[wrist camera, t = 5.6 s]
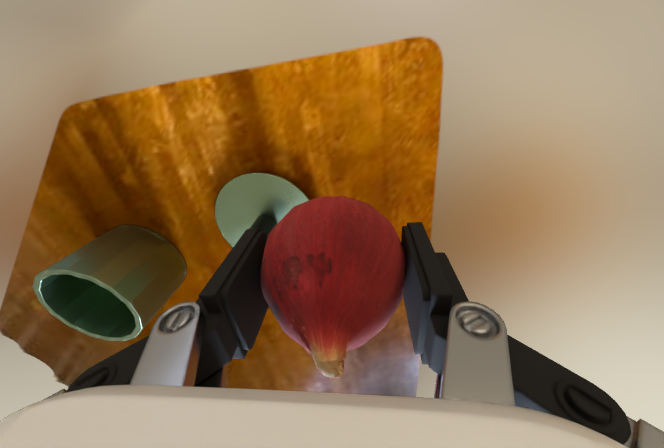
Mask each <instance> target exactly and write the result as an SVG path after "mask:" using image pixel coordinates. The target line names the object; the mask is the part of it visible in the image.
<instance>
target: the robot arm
mask: <svg viewBox="0 0 664 448" xmlns="http://www.w3.org/2000/svg"><path fill="white" fill-rule="evenodd" d="M266 241H267V237H266V234H265V232H262V231H261V229H246V230H245V232H244V233H243V235H242V236H241V237H240V239H239V240H238V242H237V243H236V244H235V246H234V247H233V249H232V250H231V251H230V253H229V254H228V256H227V257H226V258H225V260H224V261H223V262H222V264H221V265H220V267H219V268H218V269H217V271H216V272H215V274H214V275H213V276H212V278H211V279H210V281H209V282H208V283H207V285H206V286H205V287H204V289H203V290H202V292H201V293H200V294H199V298H198V300H197V301H196V303H195V302H189V301H188V302H182V303H179V304H177V305H174V306H173V307H171V308H169V309H168V310H166V311H165V312H164V313H162V314H161V316H160V317H159V318H158V319H157V320H156V322H155V324H154V326H153V328H152V331H151V333H150V335H149V336H147V337H145V338H143V339H142V340H140V341H138V342H136V343H134V344H132V345H131V346H129V347H127V348H125V349H123V350H121V351H120V352H118V353H116V354H114V355H112V356H110V357H109V358H107V359H105V360H103V361H101V362H99V363H98V364H96V365H94V366H93V367H91V368H89V369H88V370H86V371H85V372H84V373H83V374H81V375H80V376H79V377H78V378H77V379H76V380H75V381H74V382H73V383H72V384H71V385H70V387H69V388H68V390H67V391H66V390H65V389H62V390H60V391H59V392H57V393H55V394H53V395H52V396H49V397H48V398H46V399H44V400H42V401H39V402H37V403H34V404H32V405H29V406H27V407H25V408H23V409H20V410H18V411H16V412H14V413H12V414H10V415H9V416H7V417H5V418H4V419H2V420H1V421H0V448H664V432H663V431H661V430H659V429H658V428H656V427H654V426H652V425H651V424H649V423H647V422H646V421H644V420H642V419H640V420H638V421H637V422H636V421H634V420H632V419H631V418H629V417H627V416H626V414H625V413H624V411H623V410H622V409H621V408H620V406H619V405H618V404H617V403H616V402H615V400H613V399H612V398H611V397H610V396H609V395H608V394H607V393H606V392H604V391H603V390H601V389H600V388H598V387H597V386H596V385H594V384H593V383H591V382H589V381H587V380H586V379H584V378H582V377H580V376H579V375H577V374H575V373H573V372H571V371H570V370H568V369H566V368H564V367H563V366H561V365H560V364H557V363H556V362H554V361H553V360H551V359H549V358H547V357H545V356H544V355H542V354H540V353H538V352H537V351H535V350H533V349H532V348H530V347H528V346H526V345H524V344H523V343H521V342H519V341H517V340H516V339H514V338H512V337H511V336H509V335H507V329H506V326H505V323H504V321H503V320H502V318H501V317H500V316H499V315H498V314H497V313H496V312H495V311H493V310H492V309H490V308H489V307H487V306H485V305H482V304H479V303H476V302H469V301H468V299H467V297H466V295H465V292H464V290H463V289H462V286H461V284H460V282H459V280H458V278H457V276H456V274H455V272H454V270H453V268H452V266H451V264H450V262H449V260H448V258H447V256H446V255H445V253H435V252H434V249H433V247H432V245H431V242H430V240H429V238H428V236H427V233H426V231H425V229H424V226H423V224H422V222H414V223H407V226H403V227H402V239H401V244H402V246H403V248H404V252H405V258H406V273H405V286H404V292H403V298H404V303H405V308H406V313H407V318H408V323H409V328H410V332H411V337H412V342H413V347H414V352H415V354H420V355H421V360H422V364H428V365H429V367H430V368H431V369H432V370H433V371H434V372H436V373H437V379H436V387H435V394H434V398H420V397H402V396H382V395H363V394H344V393H324V392H303V391H282V390H260V389H238V388H227V382H228V370H229V362H230V361H231V360H232V358H241V359H245V356H246V354H247V351H248V350H250V349H252V347H253V345H254V342H255V340H256V337H257V335H258V332H259V329H260V327H261V324H262V322H263V319H264V316H265V314H266V311H267V309H268V304H267V302H266V300H265V298H264V295H263V292H262V288H261V285H260V270H261V265H262V259H263V254H264V249H265V245H266Z"/></svg>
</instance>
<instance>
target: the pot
mask: <svg viewBox="0 0 664 448" xmlns="http://www.w3.org/2000/svg"><path fill="white" fill-rule="evenodd" d="M186 275H187V267H186V263H185V260H184V258H183V256H182V255H181V253H180V252H179V251H178V249H177V248H176V247H175V246H174V245H173V244H172V243H171V242H170V241H168V240H167V239H166V238H164V237H163V236H161V235H160V234H158V233H156V232H154V231H152V230H150V229H147V228H144V227H141V226H136V225H121V226H117V227H115V228H113V229H111V230H109V231H108V232H106V233H104V234H103V235H101V236H99V237H98V238H96V239H95V240H93V241H91V242H90V243H88V244H86V245H85V246H83V247H81V248H80V249H78V250H77V251H75V252H73V253H72V254H70V255H68V256H67V257H65V258H63V259H62V260H60V261H59V262H57V263H55V264H54V265H52V266H50V267H49V268H47V269H46V270H44V271H42V272H41V273H39V274H37V275H36V276H35V279H34V284H33V289H34V291H35V294H36V296H37V298H38V300H39V302H40V303H41V304H42V305H43V306H44V307H45V308H46V309H47V310H48V311H49V312H50V313H51V314H52V315H53V316H55V317H56V318H58V319H59V320H61V321H62V322H64V323H65V324H67V325H68V326H70V327H72V328H74V329H76V330H78V331H80V332H82V333H85V334H87V335H89V336H93V337H97V338H100V339H104V340H108V341H126V340H129V339H132V338H135V337H137V335H138V334H139V333H140V332H141V331H142V330H143V329H144V327H145V326H146V325H147V324H148V323H149V322H150V320H151V319H152V318H153V317H154V316H155V315H156V313H157V312H158V311H159V310H160V309H161V308H162V306H163V305H164V304H165V303H166V302H167V301H168V299H169V298H170V297H171V296H172V295H173V294H174V292H175V291H176V290H177V289H178V288H179V287H180V285H181V284H182V282H183V281H184V280H185V278H186Z"/></svg>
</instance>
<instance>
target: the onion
mask: <svg viewBox="0 0 664 448" xmlns="http://www.w3.org/2000/svg"><path fill="white" fill-rule="evenodd" d="M405 273H406V258H405V252H404V248H403V246H402V244H401V242H400V240H399V237H398V235H397V233H396V231H395V229H394V227H393V226H392V224H391V223H390V222H389V220H388V219H387V218H385V217H384V216H383V215H382V214H380V213H379V212H378V211H377V210H375V209H374V208H373V207H372V206H371V205H369V204H367V203H364V202H361V201H358V200H354V199H351V198H348V197H345V196H337V197H317V198H314V199H312V200H309V201H307V202H304V203H302V204H299V205H297V206H294V207H293V208H292V209H291V210H290V211H289V212H288V213H287V214H286V215H285V216H284V217H283V218H282V219H281V221H280V222H279V223H278V224H277V225H276V226H275V227H274V228H273V230H272V231H271V232H270V233H269V234H268V238H267V241H266V245H265V249H264V254H263V259H262V265H261V270H260V285H261V288H262V292H263V295H264V298H265V300H266V302H267V304H268V306H269V308H270V309H271V311H272V312H273V314H274V315H275V317H276V319H277V320H278V322H279V323H280V325H281V327H282V329H283V331H284V332H285V333H286V334H287V335H288V336H290V337H291V338H292V339H293V340H295V341H296V342H297V343H299V344H300V345H302V346H303V348H304V349H305V350H306V351H307V352H308V353H309V354H310V355H311V356H312V357H313V358H314V361H315V364H316V367H317V369H318V370H319V371H320V372H321V373H322V374H323V375H324V376H327V377H332V378H334V377H340V376H341V374H342V373H343V371H344V362H343V361H344V360H345V358H346V354H347V351H349V350H352V349H354V348H357V347H359V346H361V345H362V344H364V343H365V342H366V341H368V340H369V339H370V338H372V337H373V336H374V335H376V334H377V333H379V332H380V331H381V330H382V329H383V328H384V327H385V326H386V324H387V322H388V321H389V319H390V318H391V316H392V315H393V313H394V312H395V310H396V308H397V307H398V305H399V303H400V302H401V299H402V295H403V292H404V286H405Z"/></svg>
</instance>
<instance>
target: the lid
mask: <svg viewBox="0 0 664 448" xmlns="http://www.w3.org/2000/svg"><path fill="white" fill-rule="evenodd" d="M309 200H310V198H309V197H308V196H307V195H306V193H305V192H304V191H303V190H302V189H301V188H299V187H298V186H297V185H296V184H294V183H293V182H291V181H289V180H288V179H286V178H284V177H281V176H279V175H275V174H272V173H266V172H250V173H246V174H242V175H239V176H237V177H235V178H234V179H232V180H230V181H229V182H228V183H227V184H226V185H225V186H224V187H223V188H222V189H221V191H220V193H219V195H218V197H217V200H216V205H215V216H216V221H217V224H218V227H219V229H220V231H221V233H222V235H223V236H224V238H225V239H226V240H227V241H228V243H229V244H230V245H231V246H232V247H234V246H235V244H236V243H237V242H238V240H239V239H240V237H241V236H242V235H243V233H244V232H245V230H246V229H261V231H262V232H265V234H266V237H267V238H268V234H269V233H270V232H271V231H272V230H273V228H274V227H275V226H276V225H277V224H278V223H279V222H280V221H281V219H282V218H283V217H284V216H285V215H286V214H287V213H288V212H289V211H290V210H291V209H292V208H293V207H294V206H297V205H299V204H302V203H304V202H307V201H309Z"/></svg>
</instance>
